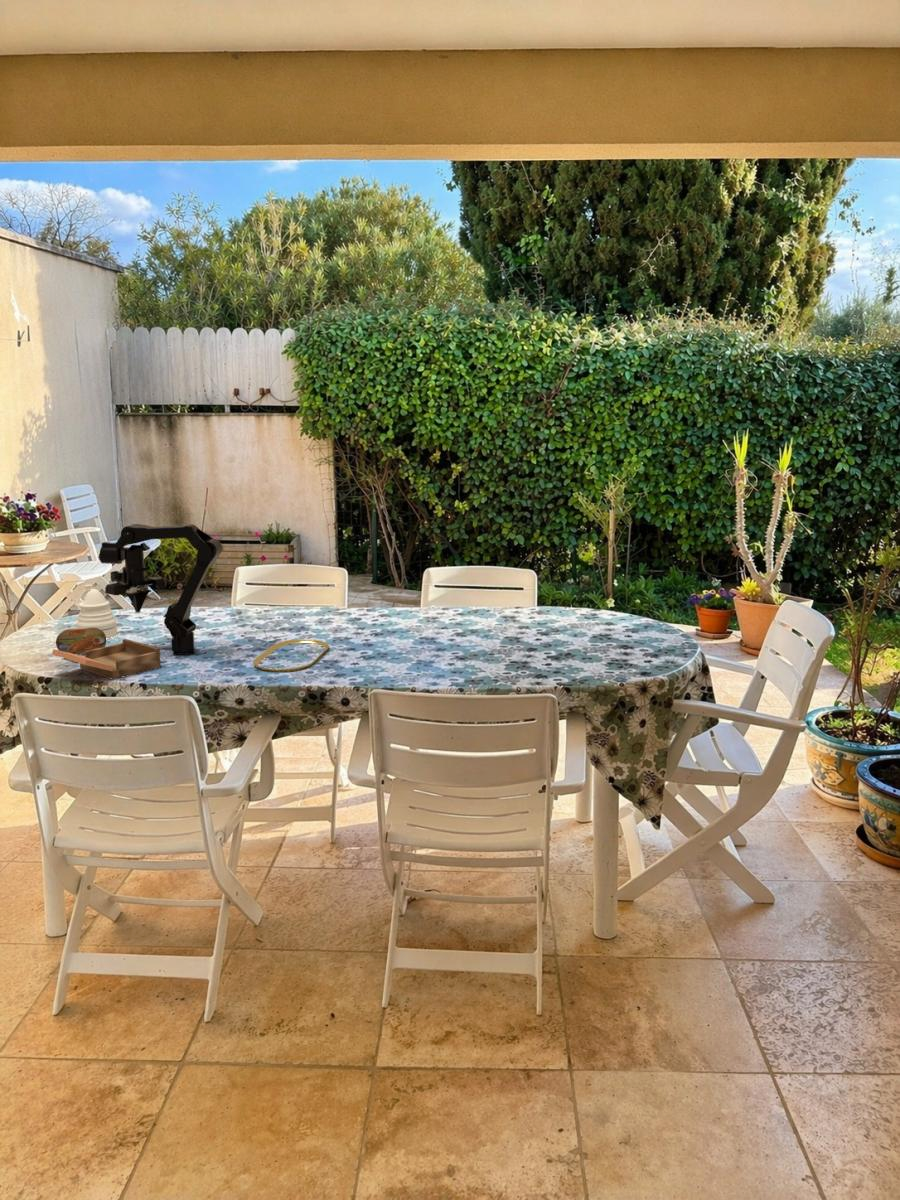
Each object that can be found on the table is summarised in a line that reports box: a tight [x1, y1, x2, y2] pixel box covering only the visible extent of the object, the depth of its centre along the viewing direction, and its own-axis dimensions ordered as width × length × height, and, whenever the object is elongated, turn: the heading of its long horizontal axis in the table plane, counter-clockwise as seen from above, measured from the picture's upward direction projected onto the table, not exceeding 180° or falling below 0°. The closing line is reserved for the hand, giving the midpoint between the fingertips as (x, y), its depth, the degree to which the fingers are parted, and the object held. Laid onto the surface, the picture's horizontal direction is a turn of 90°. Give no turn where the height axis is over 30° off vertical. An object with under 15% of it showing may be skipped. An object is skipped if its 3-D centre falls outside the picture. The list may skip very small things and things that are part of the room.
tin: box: [55, 627, 107, 655], centre depth 293 cm, size 15×3×8 cm, turn 105°
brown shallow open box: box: [79, 638, 162, 680], centre depth 278 cm, size 16×18×6 cm
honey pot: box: [76, 584, 118, 639], centre depth 314 cm, size 13×13×18 cm
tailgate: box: [51, 648, 113, 671], centre depth 268 cm, size 2×18×9 cm
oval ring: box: [252, 638, 330, 673], centre depth 291 cm, size 19×35×2 cm, turn 172°
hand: (137, 612), depth 294 cm, fingers closed
